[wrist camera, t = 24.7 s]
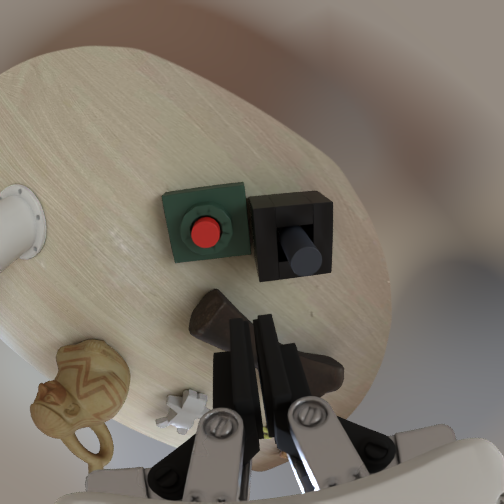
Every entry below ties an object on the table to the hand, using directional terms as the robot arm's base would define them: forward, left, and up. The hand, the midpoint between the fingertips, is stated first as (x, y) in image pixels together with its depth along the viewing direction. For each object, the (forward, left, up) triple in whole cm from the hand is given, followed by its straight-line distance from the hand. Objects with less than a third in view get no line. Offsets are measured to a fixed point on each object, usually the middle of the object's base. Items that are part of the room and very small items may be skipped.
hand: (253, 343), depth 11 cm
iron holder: (+6, -5, -26) cm, 27 cm away
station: (-4, -3, -26) cm, 26 cm away
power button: (-4, -3, -22) cm, 23 cm away
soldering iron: (+6, -5, -26) cm, 27 cm away
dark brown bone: (+3, -25, -26) cm, 36 cm away
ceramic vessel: (-30, -28, -26) cm, 49 cm away
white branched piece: (-16, -42, -26) cm, 52 cm away
